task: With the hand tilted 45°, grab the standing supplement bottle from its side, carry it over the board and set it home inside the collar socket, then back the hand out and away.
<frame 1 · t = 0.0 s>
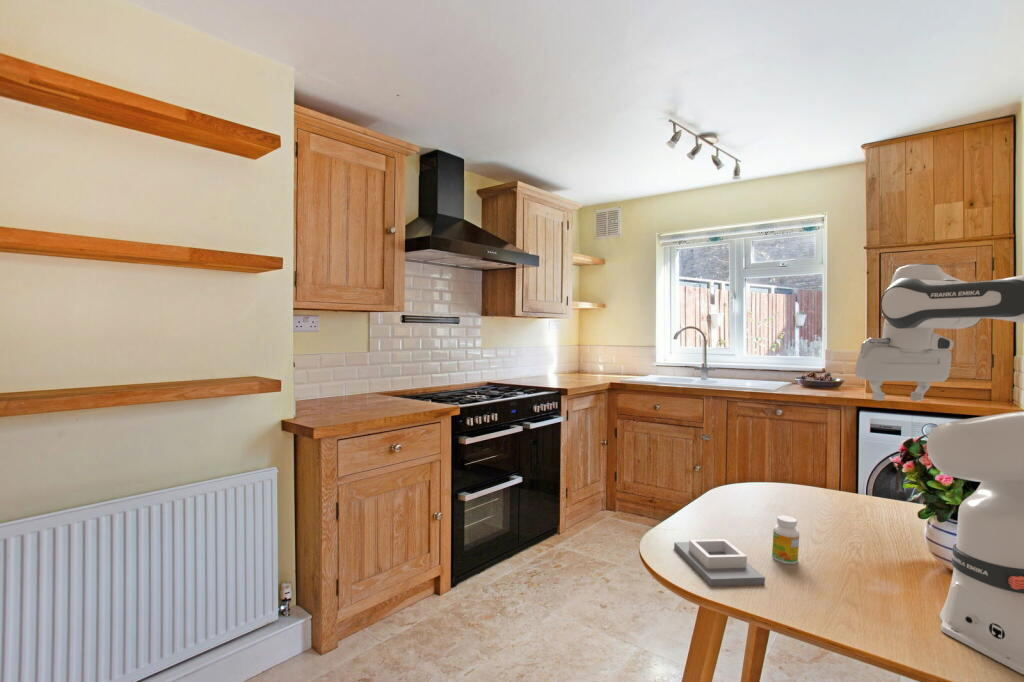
hand: (897, 400, 118), 39 cm above the table, tool pointing down, fingers open, 8 cm apart
supplement bottle: (784, 560, 125), on the table
socket board: (716, 565, 120), on the table
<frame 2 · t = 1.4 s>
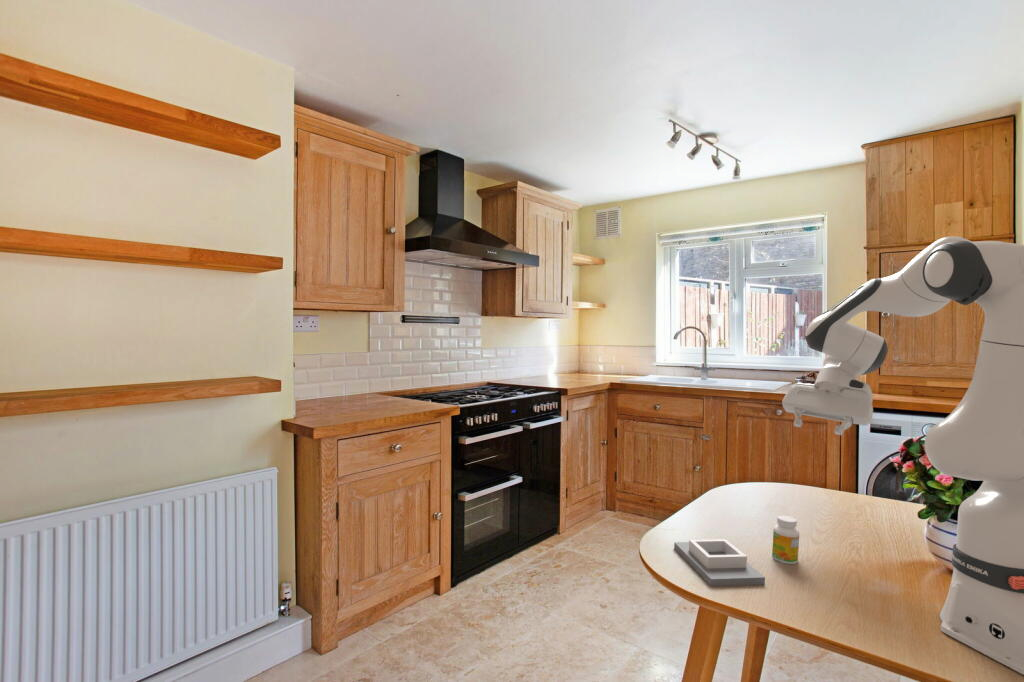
hand: (816, 429, 134), 29 cm above the table, tool tilted 45°, fingers open, 8 cm apart
nothing on the table moved.
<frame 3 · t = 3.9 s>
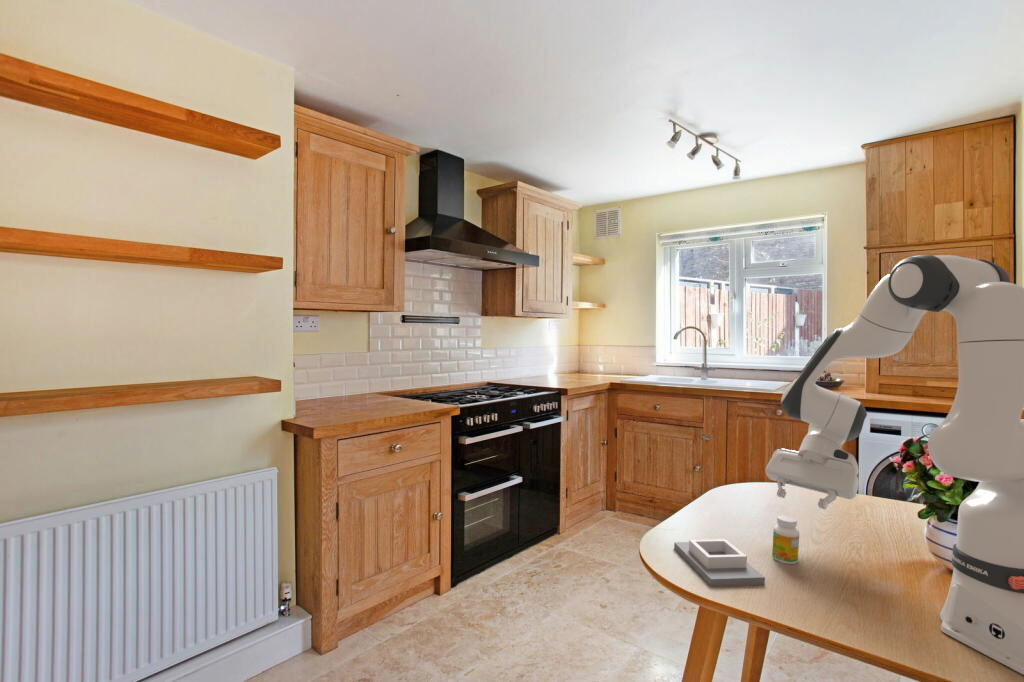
hand: (800, 501, 129), 12 cm above the table, tool tilted 45°, fingers open, 8 cm apart
nothing on the table moved.
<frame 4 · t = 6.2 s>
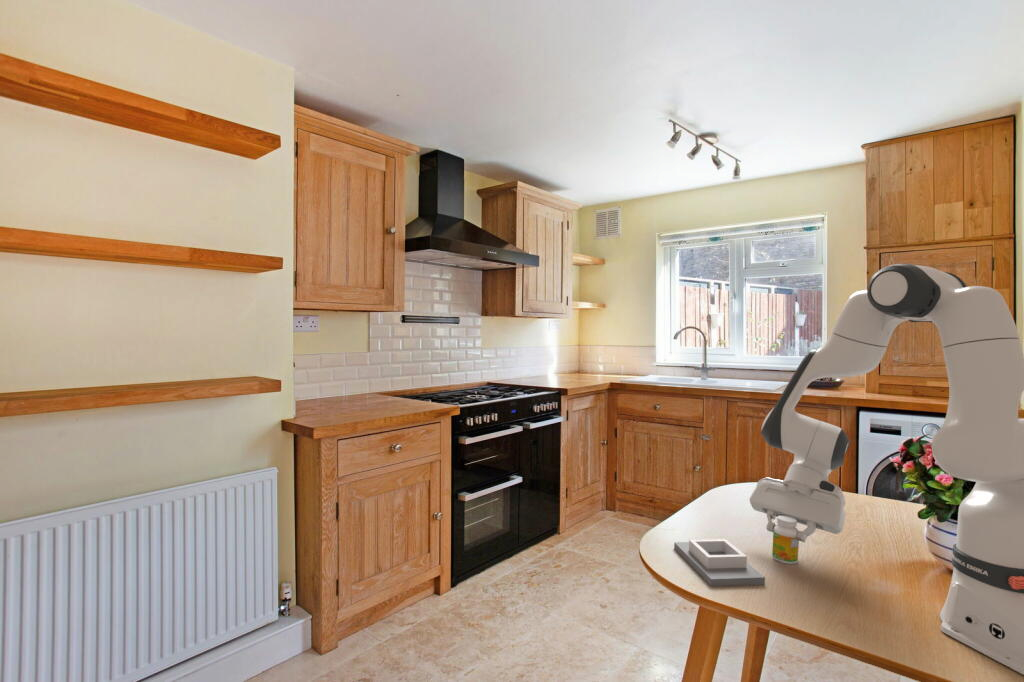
hand: (785, 535, 124), 6 cm above the table, tool tilted 45°, fingers closed on supplement bottle, 5 cm apart
supplement bottle: (784, 560, 125), on the table, touching gripper
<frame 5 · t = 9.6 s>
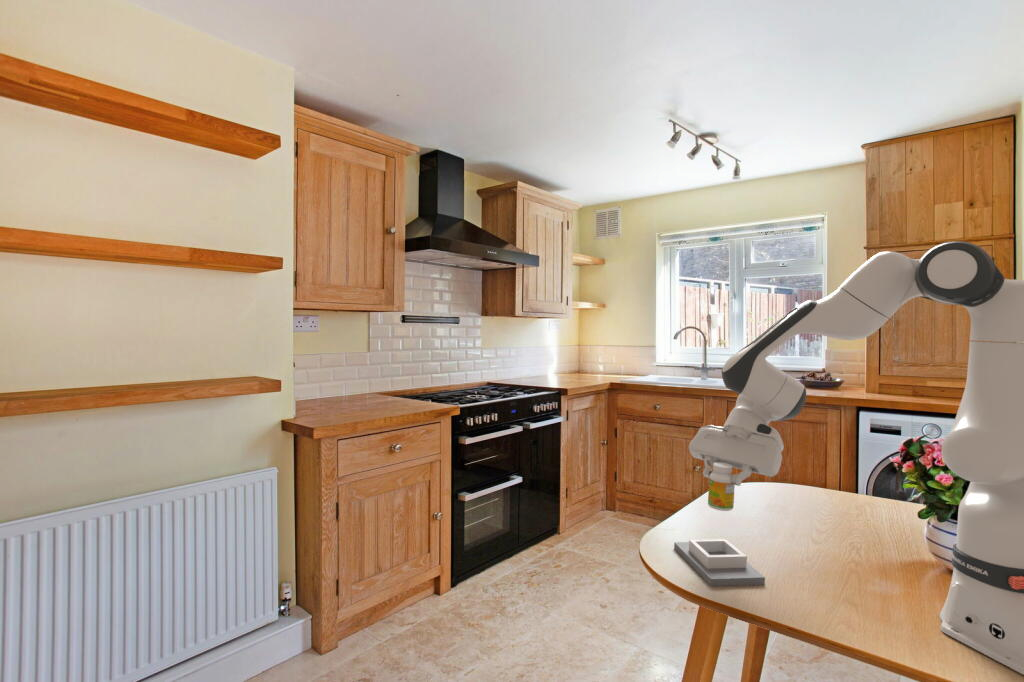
hand: (720, 479, 119), 20 cm above the table, tool tilted 45°, fingers closed on supplement bottle, 5 cm apart
supplement bottle: (720, 507, 120), point 13 cm above the table, touching gripper
when the fingers open (8 cm above the table, at t = 12.8 s): supplement bottle stays where it is, resting on socket board.
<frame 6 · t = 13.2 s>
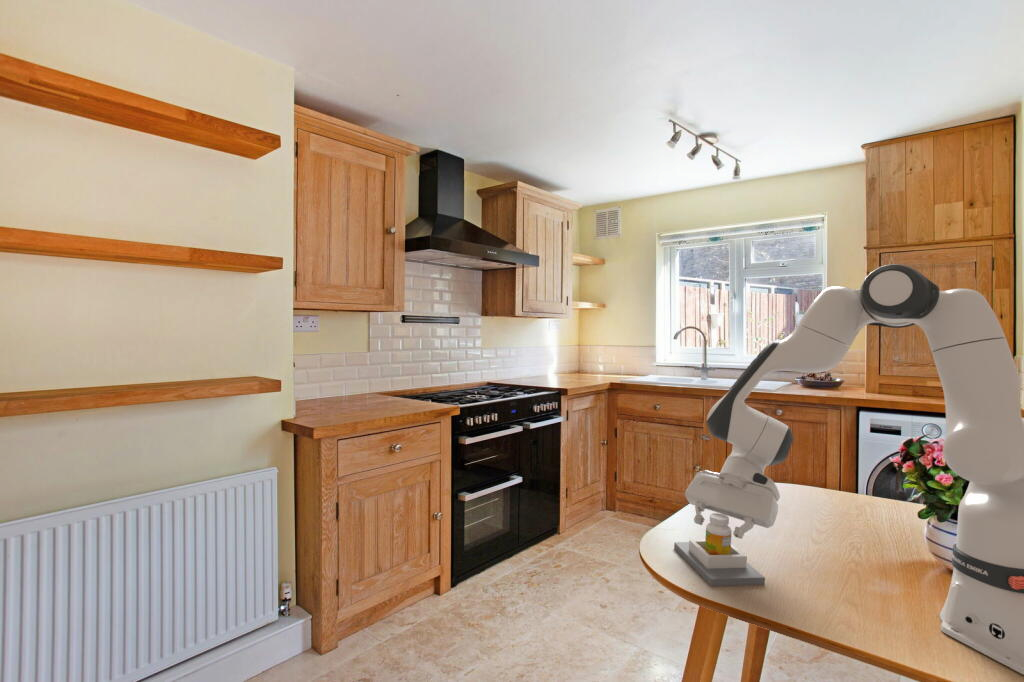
hand: (716, 529, 120), 8 cm above the table, tool tilted 45°, fingers open, 8 cm apart
supplement bottle: (717, 559, 120), point 1 cm above the table, touching socket board
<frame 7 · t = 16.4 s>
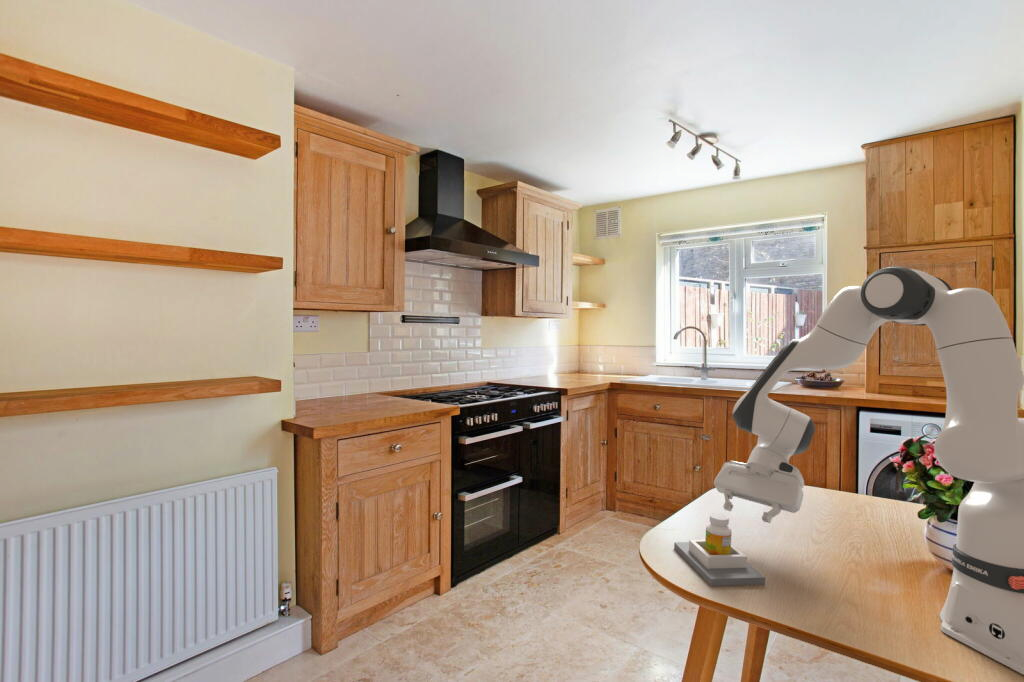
hand: (745, 515, 128), 9 cm above the table, tool tilted 45°, fingers open, 8 cm apart
nothing on the table moved.
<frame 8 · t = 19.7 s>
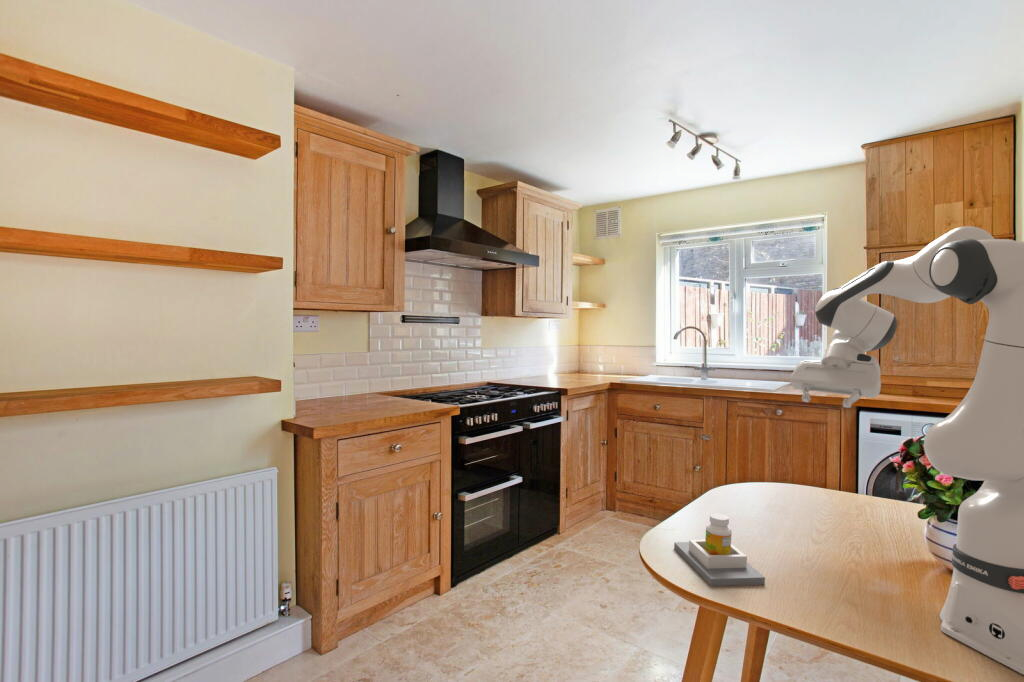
hand: (825, 403, 134), 35 cm above the table, tool tilted 45°, fingers open, 8 cm apart
nothing on the table moved.
at the end: supplement bottle 0.1 cm off-centre on the socket board, point 1.3 cm above the socket board's base; supplement bottle tilted 0°; the gripper is holding nothing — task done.
